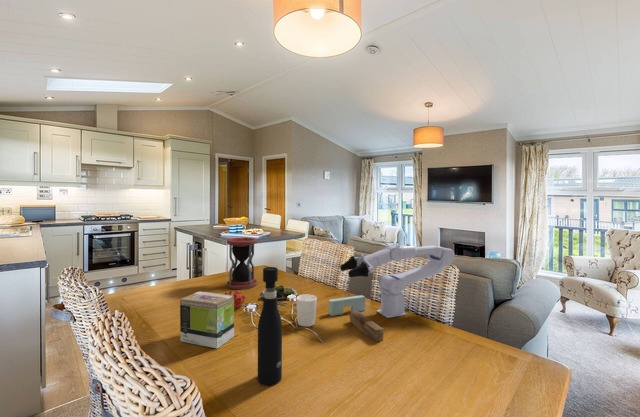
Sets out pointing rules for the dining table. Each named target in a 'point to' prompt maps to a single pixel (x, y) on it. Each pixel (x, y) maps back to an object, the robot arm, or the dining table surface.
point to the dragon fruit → (237, 298)
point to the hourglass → (241, 263)
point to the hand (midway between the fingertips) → (344, 271)
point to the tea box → (207, 319)
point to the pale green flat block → (346, 304)
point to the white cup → (306, 309)
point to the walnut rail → (366, 326)
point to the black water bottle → (270, 333)
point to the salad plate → (282, 292)
